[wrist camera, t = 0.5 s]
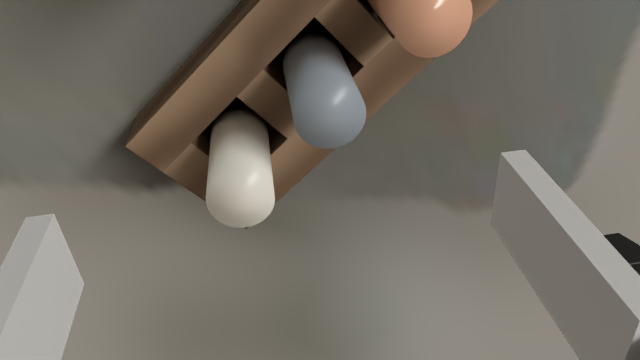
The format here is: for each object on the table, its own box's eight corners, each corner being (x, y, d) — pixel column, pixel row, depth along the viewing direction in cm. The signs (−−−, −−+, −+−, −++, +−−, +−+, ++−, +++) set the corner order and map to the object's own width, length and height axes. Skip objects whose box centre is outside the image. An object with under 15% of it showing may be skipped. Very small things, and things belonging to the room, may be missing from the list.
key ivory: (199, 136, 42) (191, 203, 34) (237, 98, 40) (237, 158, 33) (242, 169, 44) (243, 238, 36) (279, 133, 42) (289, 197, 35)
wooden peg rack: (135, 117, 44) (125, 146, 40) (391, -164, 36) (411, -163, 32) (245, 196, 50) (246, 229, 46) (488, -31, 42) (516, -16, 38)
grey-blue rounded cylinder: (270, 64, 39) (278, 118, 32) (312, 20, 38) (331, 66, 31) (312, 102, 41) (328, 161, 34) (354, 61, 40) (381, 114, 33)
